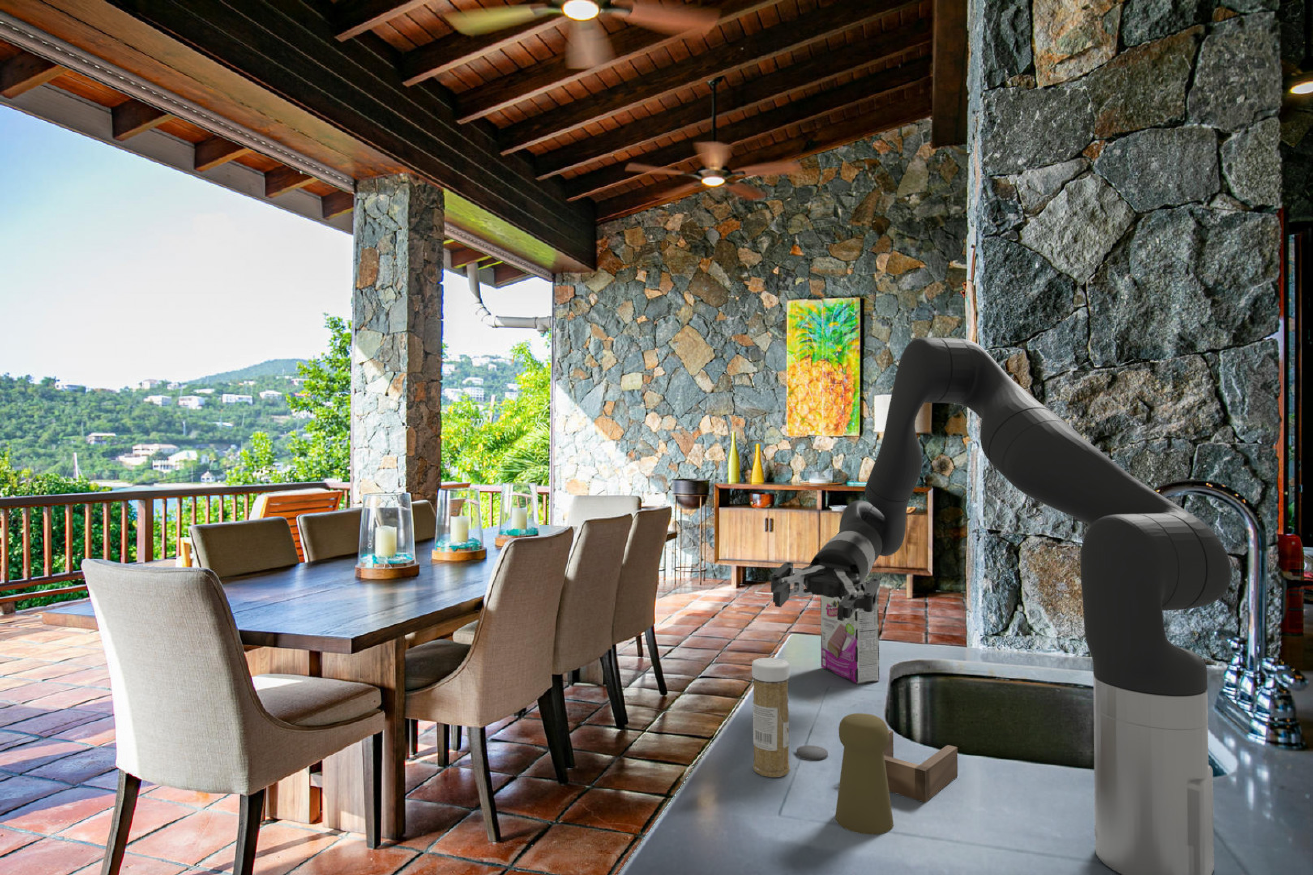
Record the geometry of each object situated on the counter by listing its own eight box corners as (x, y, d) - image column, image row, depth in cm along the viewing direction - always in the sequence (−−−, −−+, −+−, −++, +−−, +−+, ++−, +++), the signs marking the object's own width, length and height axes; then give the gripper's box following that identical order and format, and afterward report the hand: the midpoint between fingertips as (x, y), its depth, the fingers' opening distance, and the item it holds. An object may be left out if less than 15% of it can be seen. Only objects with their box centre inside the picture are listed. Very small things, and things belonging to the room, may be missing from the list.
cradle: (957, 776, 94) (957, 747, 94) (925, 802, 87) (925, 770, 87) (884, 756, 100) (884, 728, 100) (849, 778, 93) (849, 749, 93)
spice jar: (797, 773, 95) (797, 662, 95) (769, 781, 92) (769, 668, 93) (772, 760, 99) (771, 654, 99) (744, 768, 96) (744, 659, 97)
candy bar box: (819, 668, 141) (818, 577, 142) (842, 665, 143) (841, 575, 143) (856, 685, 131) (855, 587, 131) (880, 681, 133) (880, 585, 133)
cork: (850, 802, 87) (849, 703, 87) (902, 818, 83) (902, 715, 83) (825, 822, 82) (824, 718, 83) (879, 840, 79) (878, 730, 79)
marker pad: (833, 753, 101) (833, 750, 101) (817, 762, 98) (817, 759, 98) (806, 745, 104) (806, 742, 104) (790, 754, 101) (790, 751, 101)
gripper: (798, 531, 118) (757, 570, 104) (893, 547, 111) (863, 591, 97) (797, 577, 120) (757, 621, 106) (891, 595, 113) (861, 645, 99)
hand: (808, 607), depth 102 cm, fingers open, 8 cm apart
